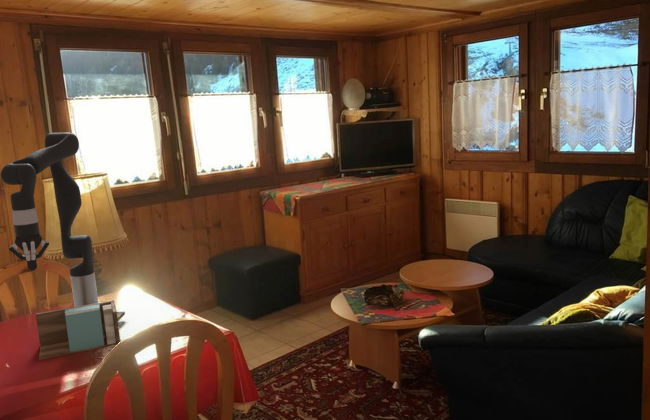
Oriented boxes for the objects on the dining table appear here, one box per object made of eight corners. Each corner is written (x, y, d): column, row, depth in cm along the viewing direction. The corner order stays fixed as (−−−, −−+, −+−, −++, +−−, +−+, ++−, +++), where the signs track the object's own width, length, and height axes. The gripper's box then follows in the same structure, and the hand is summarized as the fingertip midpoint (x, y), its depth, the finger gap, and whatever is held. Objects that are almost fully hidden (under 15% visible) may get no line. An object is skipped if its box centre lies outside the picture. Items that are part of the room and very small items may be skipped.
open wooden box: (41, 349, 197) (35, 310, 195) (118, 334, 208) (113, 297, 205) (39, 363, 186) (33, 323, 183) (120, 347, 196) (116, 308, 193)
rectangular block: (70, 347, 194) (65, 309, 191) (103, 341, 198) (99, 304, 196) (70, 352, 190) (64, 313, 188) (104, 345, 195) (99, 307, 192)
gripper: (47, 217, 196) (54, 264, 199) (5, 222, 191) (12, 270, 194) (46, 221, 189) (53, 269, 192) (2, 226, 184) (10, 276, 187)
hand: (32, 270), depth 193 cm, fingers closed
